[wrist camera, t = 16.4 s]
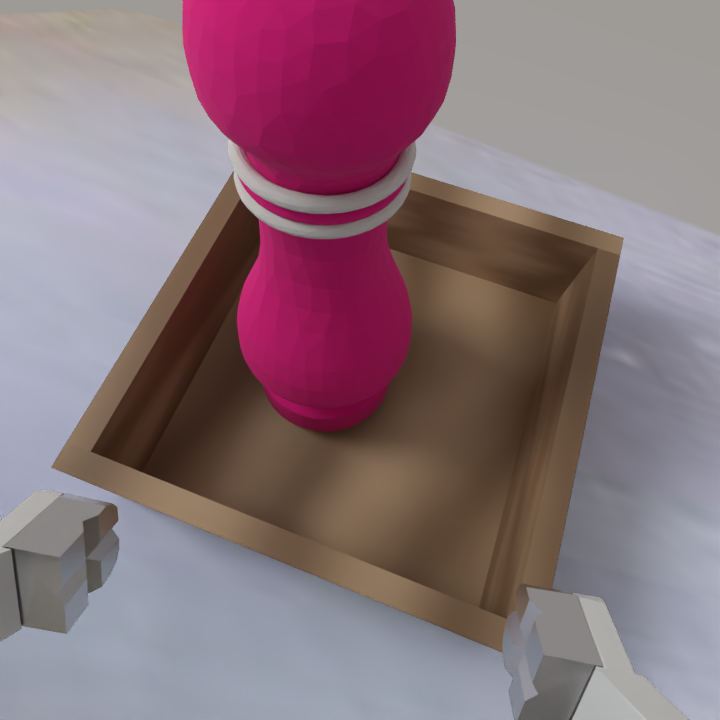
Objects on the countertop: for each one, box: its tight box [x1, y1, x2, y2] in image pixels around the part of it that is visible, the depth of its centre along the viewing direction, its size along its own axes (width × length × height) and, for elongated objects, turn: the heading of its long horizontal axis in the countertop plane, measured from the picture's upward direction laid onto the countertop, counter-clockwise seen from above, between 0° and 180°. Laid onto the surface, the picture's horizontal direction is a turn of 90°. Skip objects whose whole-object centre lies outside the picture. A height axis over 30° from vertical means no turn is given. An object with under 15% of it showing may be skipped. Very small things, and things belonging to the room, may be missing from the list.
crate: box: [51, 171, 624, 652], centre depth 24 cm, size 18×18×6 cm
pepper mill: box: [182, 0, 456, 432], centre depth 17 cm, size 7×7×20 cm
